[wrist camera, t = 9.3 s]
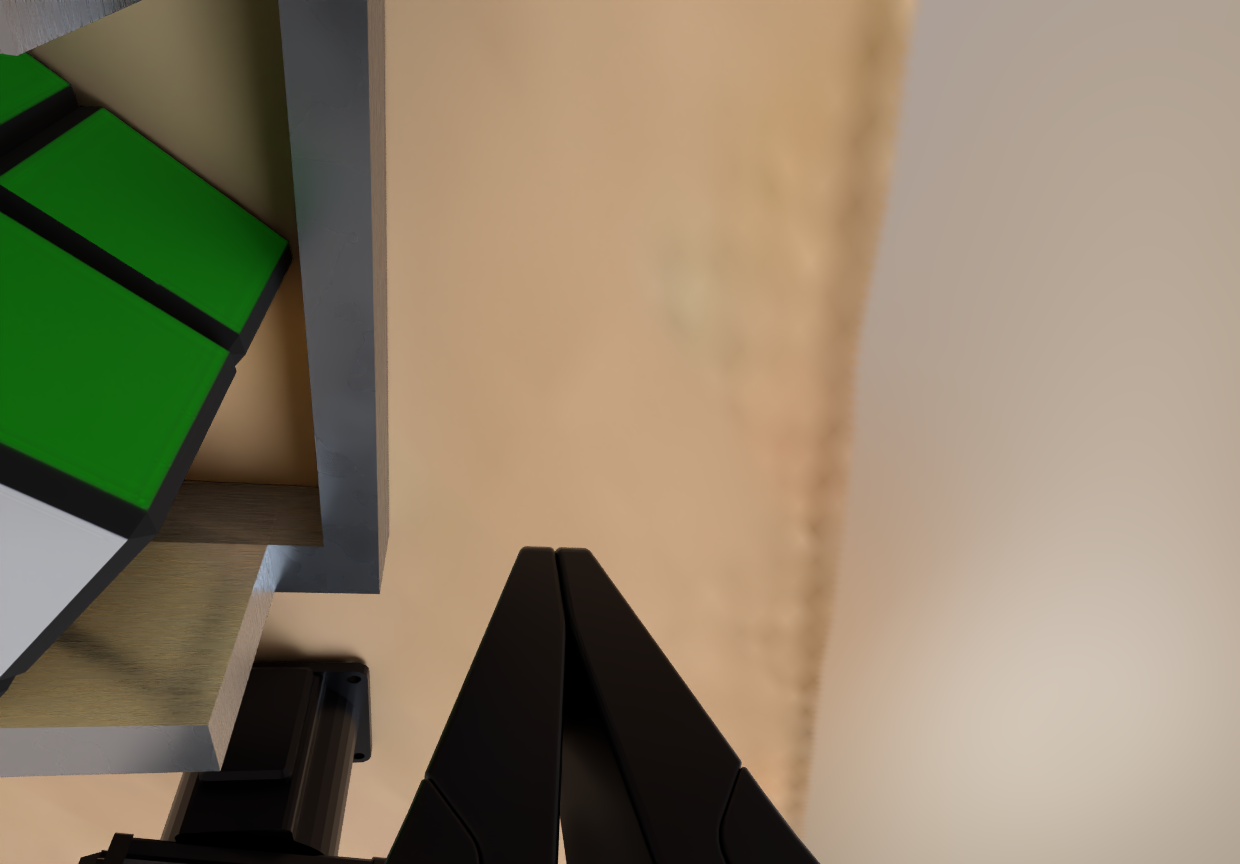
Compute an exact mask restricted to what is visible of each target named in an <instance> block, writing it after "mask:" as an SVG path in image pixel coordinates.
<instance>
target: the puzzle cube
mask: <svg viewBox="0 0 1240 864" xmlns="http://www.w3.org/2000/svg"><path fill="white" fill-rule="evenodd" d="M292 260H293V257H292V253H291V249H290V245H289V242H288V241H287V240H285V239H284V238H283V237H281V236H280V235H278V234H277V233H276V232H274V231H273V230H272V229H270V228H269V227H267V226H266V225H265V224H263V223H262V222H261V221H259V220H258V219H256V218H255V217H254V216H252V215H251V214H249V213H248V212H247V211H245V210H244V209H243V208H241V207H240V206H238V205H237V204H236V203H234V202H233V201H232V200H230V199H229V198H227V197H226V196H225V195H223V194H222V193H221V192H219V191H218V190H216V189H215V188H214V187H212V186H211V185H209V184H208V183H207V182H205V181H204V180H203V179H201V178H200V177H198V176H197V175H196V174H194V173H193V172H192V171H190V170H189V169H187V168H186V167H185V166H183V165H182V164H181V163H179V162H178V161H176V160H175V159H174V158H172V157H171V156H170V155H168V154H167V153H165V152H164V151H163V150H161V149H160V148H158V147H157V146H156V145H154V144H153V143H152V142H150V141H149V140H147V139H146V138H145V137H143V136H142V135H141V134H139V133H138V132H136V131H135V130H134V129H132V128H131V127H130V126H128V125H127V124H125V123H124V122H123V121H121V120H120V119H119V118H117V117H116V116H114V115H113V114H112V113H110V112H109V111H107V110H106V109H105V108H103V107H79V104H78V102H77V99H76V96H75V94H74V91H73V89H72V86H71V84H69V83H68V82H67V81H65V80H64V79H62V78H61V77H60V76H58V75H57V74H56V73H54V72H53V71H51V70H50V69H49V68H47V67H46V66H45V65H43V64H42V63H40V62H39V61H38V60H36V59H35V58H33V57H32V56H31V55H29V54H28V53H27V52H24V53H22V54H20V55H18V56H15V55H8V54H1V53H0V697H1V696H2V695H3V694H4V693H5V692H6V691H7V690H8V688H9V687H10V685H11V683H12V681H13V680H14V678H15V676H16V675H19V674H22V673H25V672H26V671H27V670H28V669H29V668H30V667H31V666H32V665H33V664H34V663H35V662H36V661H37V660H38V659H39V658H40V657H41V656H42V655H43V654H44V652H45V651H46V650H47V649H48V648H49V647H50V646H51V645H52V644H53V643H54V642H55V641H56V640H57V639H58V638H59V637H60V636H61V635H62V634H63V633H64V632H65V630H66V629H67V628H68V627H69V626H70V625H71V624H72V623H73V622H74V621H75V620H76V619H77V618H78V617H79V616H80V615H81V614H82V613H83V612H84V611H85V609H86V608H87V607H88V606H89V605H90V604H91V603H92V602H93V601H94V600H95V599H96V598H97V597H98V596H99V595H100V594H101V593H102V592H103V591H104V590H105V588H106V587H107V586H108V585H109V584H110V583H111V582H112V581H113V580H114V579H115V578H116V577H117V576H118V575H119V574H120V573H121V572H122V571H123V570H124V569H125V567H126V566H127V565H128V564H129V563H130V562H131V561H132V560H133V559H134V558H135V557H136V556H137V555H138V554H139V553H140V552H141V551H142V550H143V549H144V548H145V547H146V545H147V544H148V543H149V542H150V541H151V540H152V539H153V538H154V537H155V536H156V535H157V534H158V532H159V530H160V528H161V526H162V524H163V522H164V520H165V518H166V516H167V514H168V512H169V510H170V507H171V505H172V503H173V501H174V499H175V497H176V495H177V493H178V491H179V489H180V487H181V485H182V483H183V481H184V479H185V477H186V475H187V472H188V470H189V468H190V466H191V464H192V462H193V460H194V458H195V456H196V454H197V452H198V450H199V448H200V446H201V444H202V442H203V440H204V437H205V435H206V433H207V431H208V429H209V427H210V425H211V423H212V421H213V419H214V417H215V415H216V413H217V411H218V409H219V407H220V405H221V402H222V400H223V398H224V396H225V394H226V392H227V390H228V388H229V386H230V384H231V382H232V380H233V378H234V376H235V374H236V369H235V366H236V364H237V363H238V362H239V361H240V360H241V359H242V358H243V357H244V355H245V354H246V352H247V350H248V348H249V346H250V344H251V342H252V340H253V338H254V336H255V334H256V332H257V330H258V328H259V326H260V324H261V322H262V320H263V318H264V316H265V314H266V312H267V310H268V308H269V306H270V304H271V302H272V300H273V298H274V296H275V294H276V292H277V290H278V288H279V286H280V284H281V282H282V280H283V278H284V276H285V274H286V272H287V270H288V268H289V266H290V264H291V262H292Z"/></svg>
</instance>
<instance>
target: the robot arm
mask: <svg viewBox="0 0 1240 864" xmlns="http://www.w3.org/2000/svg"><path fill="white" fill-rule="evenodd" d="M371 752H372V729H371V701H370V674H369V668H368V667H367V666H366V665H364V664H361V663H253V665H252V668H251V671H250V674H249V678H248V681H247V684H246V688H245V691H244V694H243V698H242V701H241V704H240V708H239V711H238V714H237V718H236V721H235V724H234V728H233V731H232V734H231V738H230V741H229V744H228V747H227V751H226V754H225V757H224V761H223V764H222V767H221V771H204V772H183V774H182V777H181V780H180V783H179V786H178V789H177V792H176V795H175V798H174V801H173V804H172V807H171V810H170V813H169V816H168V819H167V821H166V824H165V827H164V830H163V833H162V836H161V839H160V840H153V839H143V838H133V836H134V834H124V833H115V834H114V836H113V839H112V841H111V844H110V846H109V849H108V851H106V850H102V851H101V852H99V853H96V854H92V855H88V856H85V857H81V859H80V861H79V864H558V848H559V823H560V819H561V827H562V834H563V841H564V848H565V856H566V863H567V864H820V863H819V862H818V861H817V859H816V858H815V857H814V856H813V855H812V854H811V852H810V851H809V850H808V849H807V848H806V846H805V845H804V844H803V843H802V841H801V840H800V839H799V838H798V837H797V835H796V834H795V833H794V832H793V830H792V829H791V828H790V826H789V825H788V824H787V822H786V821H785V820H784V818H783V817H782V816H781V814H780V813H779V812H778V810H777V809H776V808H775V806H774V805H773V804H772V803H771V801H770V800H769V799H768V797H767V796H766V795H765V793H764V792H763V790H762V789H761V788H760V786H759V785H758V783H757V782H756V781H755V779H754V778H753V776H752V775H751V774H750V772H749V771H748V769H747V768H746V767H742V768H741V764H742V762H741V760H740V759H739V757H738V756H737V754H736V753H735V752H734V750H733V749H732V748H731V746H730V745H729V743H728V742H727V741H726V739H725V738H724V736H723V735H722V734H721V732H720V731H719V729H718V728H717V727H716V725H715V724H714V722H713V721H712V720H711V718H710V717H709V716H708V714H707V713H706V711H705V710H704V709H703V707H702V706H701V704H700V703H699V702H698V700H697V699H696V697H695V696H694V695H693V693H692V692H691V690H690V689H689V688H688V686H687V685H686V684H685V682H684V681H683V679H682V678H681V677H680V675H679V674H678V672H677V671H676V670H675V668H674V667H673V665H672V664H671V663H670V661H669V660H668V658H667V657H666V656H665V654H664V653H663V652H662V650H661V649H660V647H659V646H658V645H657V643H656V642H655V640H654V639H653V638H652V636H651V635H650V633H649V632H648V631H647V629H646V628H645V626H644V625H643V624H642V622H641V621H640V620H639V618H638V617H637V615H636V614H635V613H634V611H633V610H632V608H631V607H630V606H629V604H628V603H627V601H626V600H625V599H624V597H623V596H622V594H621V593H620V592H619V590H618V589H617V588H616V586H615V585H614V583H613V582H612V581H611V579H610V578H609V576H608V575H607V574H606V572H605V571H604V569H603V568H602V567H601V565H600V564H599V562H598V561H597V560H596V558H595V557H594V556H593V554H592V553H591V552H590V551H589V550H588V549H586V548H566V547H561V548H558V549H557V550H556V551H554V549H553V548H551V547H531V546H526V547H523V548H522V549H521V550H520V552H519V554H518V556H517V559H516V561H515V563H514V566H513V568H512V570H511V573H510V575H509V577H508V580H507V582H506V584H505V587H504V589H503V591H502V594H501V596H500V599H499V601H498V603H497V606H496V608H495V610H494V613H493V615H492V617H491V620H490V622H489V624H488V627H487V629H486V631H485V634H484V636H483V638H482V641H481V643H480V646H479V648H478V650H477V653H476V655H475V657H474V660H473V662H472V664H471V667H470V669H469V671H468V674H467V676H466V678H465V681H464V683H463V685H462V688H461V690H460V692H459V695H458V697H457V700H456V702H455V704H454V707H453V709H452V711H451V714H450V716H449V718H448V721H447V723H446V725H445V728H444V730H443V732H442V735H441V737H440V739H439V742H438V744H437V746H436V749H435V751H434V753H433V756H432V758H431V761H430V763H429V765H428V768H427V770H426V772H425V779H423V780H422V781H421V783H420V785H419V788H418V790H417V792H416V795H415V797H414V799H413V802H412V804H411V806H410V809H409V811H408V813H407V815H406V818H405V820H404V822H403V824H402V826H401V828H400V831H399V833H398V835H397V837H396V839H395V841H394V843H393V846H392V848H391V850H390V852H389V854H388V856H387V858H381V857H373V858H372V859H360V858H349V857H338V850H339V844H340V838H341V831H342V825H343V819H344V813H345V806H346V800H347V794H348V788H349V782H350V775H351V769H352V763H354V762H364V761H367V760H369V759H370V757H371ZM740 768H741V769H740Z"/></svg>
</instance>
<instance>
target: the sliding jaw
mask: <svg viewBox="0 0 1240 864" xmlns="http://www.w3.org/2000/svg"><path fill="white" fill-rule="evenodd" d="M139 1H141V0H0V53H1V54H8V55H15V56H18V55H20V54H22V53H24V52H27V51H29V50H31V49H33V48H35V47H38V46H40V45H42V44H44V43H47V42H49V41H51V40H53V39H56V38H58V37H60V36H62V35H65V34H67V33H69V32H71V31H74V30H76V29H78V28H80V27H83V26H85V25H87V24H89V23H92V22H94V21H96V20H98V19H101V18H103V17H105V16H107V15H110V14H112V13H114V12H116V11H119V10H121V9H123V8H125V7H128V6H130V5H132V4H134V3H137V2H139Z"/></svg>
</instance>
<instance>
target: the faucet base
mask: <svg viewBox="0 0 1240 864" xmlns="http://www.w3.org/2000/svg"><path fill="white" fill-rule="evenodd" d="M278 3H279V15H280V27H281V39H282V51H283V63H284V75H285V87H286V99H287V111H288V123H289V135H290V147H291V159H292V171H293V183H294V195H295V207H296V219H297V231H298V243H299V255H300V267H301V279H302V291H303V303H304V315H305V327H306V339H307V351H308V363H309V375H310V387H311V399H312V411H313V423H314V435H315V447H316V459H317V471H318V483H319V487H308V486H287V485H265V484H243V483H222V482H200V481H183V483H182V485H181V487H180V489H179V491H178V493H177V495H176V497H175V499H174V501H173V503H172V505H171V507H170V510H169V512H168V514H167V516H166V518H165V520H164V522H163V524H162V526H161V528H160V530H159V532H158V534H157V535H156V536H155V537H154V538H153V539H152V540H151V541H150V542H149V543H148V544H147V545H146V547H145V548H144V549H143V550H142V551H141V552H140V553H139V554H138V555H137V556H136V557H135V558H134V559H133V560H132V561H131V562H130V563H129V564H128V565H127V566H126V567H125V569H124V570H123V571H122V572H121V573H120V574H119V575H118V576H117V577H116V578H115V579H114V580H113V581H112V582H111V583H110V584H109V585H108V586H107V587H106V588H105V590H104V591H103V592H102V593H101V594H100V595H99V596H98V597H97V598H96V599H95V600H94V601H93V602H92V603H91V604H90V605H89V606H88V607H87V608H86V609H85V611H84V612H83V613H82V614H81V615H80V616H79V617H78V618H77V619H76V620H75V621H74V622H73V623H72V624H71V625H70V626H69V627H68V628H67V629H66V630H65V632H64V633H63V634H62V635H61V636H60V637H59V638H58V639H57V640H56V641H55V642H54V643H53V644H52V645H51V646H50V647H49V648H48V649H47V650H46V651H45V652H44V654H43V655H42V656H41V657H40V658H39V659H38V660H37V661H36V662H35V663H34V664H33V665H32V666H31V667H30V668H29V669H28V670H27V671H26V672H25V673H22V674H19V675H16V676H15V678H14V680H13V681H12V683H11V685H10V687H9V688H8V690H7V691H6V692H5V693H4V694H3V695H2V696H1V697H0V777H19V776H56V775H93V774H130V773H167V772H204V771H221V767H222V764H223V761H224V757H225V754H226V751H227V747H228V744H229V741H230V738H231V734H232V731H233V728H234V724H235V721H236V718H237V714H238V711H239V708H240V704H241V701H242V698H243V694H244V691H245V688H246V684H247V681H248V678H249V674H250V671H251V668H252V665H253V661H254V658H255V655H256V651H257V648H258V645H259V641H260V638H261V635H262V631H263V628H264V625H265V621H266V618H267V615H268V611H269V608H270V605H271V601H272V598H273V595H274V592H305V593H358V594H380V588H381V582H382V576H383V569H384V563H385V557H386V551H387V545H388V538H389V468H388V354H387V239H386V125H385V10H384V0H278Z"/></svg>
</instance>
